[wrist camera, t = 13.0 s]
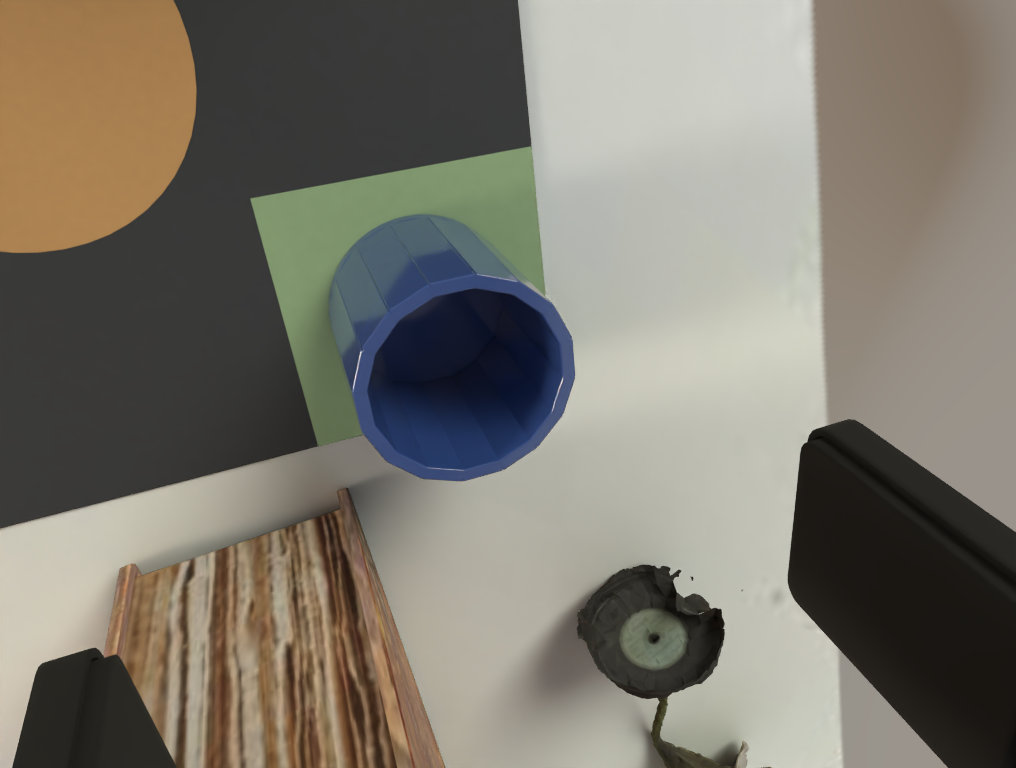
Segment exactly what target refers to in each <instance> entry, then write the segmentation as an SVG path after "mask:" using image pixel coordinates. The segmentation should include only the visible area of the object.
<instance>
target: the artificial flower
mask: <svg viewBox="0 0 1016 768" xmlns="http://www.w3.org/2000/svg"><path fill="white" fill-rule="evenodd" d="M669 571H670V568H669V567H666V566H661V568H658V569H657V568H656V567H655V566H651V565H640V566H637V567H633V569H630V570H629V569H626V570H625V569H623V570H621V571H619V572H618V573H617V574H616V575H613V577H612V578H611V580H610V582H609V583H608V584H607V585H606V586H604V587H602V588H600V590H598V591H597V592H596V593H595V594H594V595H593V596H592V598H591V600H589V601H588V603H587V606H586V607H585V608H584V609H581V610H580V612H578V615H577V617H578V624H579V625H578V627H577V631H578V636H579V637H578V638H580V639H583V640H585V641H586V642H587V646H588V649H589V652H590V654H591V655H592V657H593V659H594V662H595V664H596V665H597V666H598V669H599V670H600V671H601V672H602V673H604V674H605V675H606V677H607V678H609V679H610V680H611V681H612V682H614V683H615V684H616V685H617V686H618V687H619V688H621V689H623V690H624V691H626V692H627V693H629V694H632V695H634V696H637V697H640V698H645V699H651V698H658V700H659V704H658V707H657V713H656V715H655V720H654V721H653V729H652V732H651V736H652V738H653V739H652V740H653V742H654V746H655V747H656V749H657V750H658V752H659V754H660V756H661V757H662V759H663V761H664V764H665V766H666V767H667V768H731V767H728V766H724V765H720V764H719V763H717V762H715V761H713V760H711V759H708V758H706V757H703V756H702V755H701V754H699V753H698V754H696V753H694V752H692V751H689V750H687V749H686V748H682V747H675V746H674V745H673V744H671V743H668V742H665V741H662V739H661V738H660V731H661V726H662V721H663V719H664V716H665V713H666V709H667V706H668V704H667V697H668V696H669V695H670V694H671V693H673V692H678V691H680V690H684V689H685V688H687V687H690V686H693V685H695V684H701V683H702V682H703V681H705V680H706V679H707V678H708V677H709V676H710V675H711V674H712V673H713V670H714V668H715V667H716V666H717V663H718V658H719V655H720V652H721V648H722V646H723V640H724V634H725V633H724V629H723V627H724V624H725V623H724V621H723V618H722V609H717V608H713V609H711V608H710V607H709V603H708V602H707V601H706V600H705V599H704V598H703V597H702V596H700V595H697V594H691V595H690V596H687V597H685V598H683V597H682V596H681V595H680V594H678V593H677V592H676V589H675V586H674V583H673V580H674V578H675V577H679V573H680V572H681V570H678V571H676V572H675V573H674V574H673V575H671V576H670V574H669ZM691 579H692V581H693V577H691ZM741 591H743V590H741ZM703 612H704V613H703ZM700 613H702V614H700ZM748 749H749V746H748V745H747V743H746V742H745V741H743V743H742V746H741V749H740V752H739V754H738V757H737V761H736V765H735V767H734V768H746V765H747V756H746V752H747V751H748ZM763 768H771V767H763Z"/></svg>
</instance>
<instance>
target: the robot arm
mask: <svg viewBox="0 0 1016 768" xmlns="http://www.w3.org/2000/svg"><path fill="white" fill-rule="evenodd" d="M788 585H789V589H790V591H791V594H792V596H793V598H794V599H795V601H796V602H797V603H798V605H799V606H800V607H801V608H802V609H803V610H804V611H805V612H806V613H807V614H808V616H809V617H810V618H811V619H812V620H813V621H814V622H815V623H816V624H817V625H818V626H819V628H820V629H821V630H822V631H823V632H824V633H825V634H826V635H827V636H828V637H829V638H830V639H831V641H832V642H833V643H834V644H835V645H836V646H837V647H838V648H839V649H840V650H841V651H842V653H843V654H844V655H845V656H846V657H847V658H848V659H849V660H850V661H851V662H852V663H853V665H854V666H856V668H857V669H858V670H859V671H860V672H861V673H862V674H863V675H864V677H865V678H866V679H867V680H868V681H869V682H870V683H871V684H872V685H873V686H874V687H875V688H876V690H877V691H878V692H879V693H880V694H881V695H882V696H883V697H884V698H885V699H886V700H887V701H888V703H889V704H890V705H891V706H892V707H893V708H894V709H895V710H896V711H897V712H898V714H899V715H901V716H902V718H903V719H904V720H905V721H906V722H907V723H908V724H909V725H910V726H911V728H912V729H913V730H914V731H915V732H916V733H917V734H918V735H919V736H920V737H921V739H922V740H923V741H924V742H925V743H926V744H927V745H928V746H929V747H930V748H931V749H932V751H933V752H934V753H935V754H936V755H937V756H938V757H939V758H940V759H941V760H942V761H943V763H944V764H945V765H946V766H947V767H948V768H1016V532H1014V531H1013V530H1012V529H1010V528H1009V527H1007V526H1006V525H1005V524H1003V523H1002V522H1000V521H999V520H997V519H996V518H995V517H993V516H992V515H990V514H989V513H988V512H986V511H985V510H983V509H982V508H980V507H979V506H978V505H976V504H975V503H973V502H972V501H971V500H969V499H968V498H966V497H965V496H963V495H962V494H961V493H959V492H958V491H956V490H955V489H953V488H952V487H951V486H949V485H948V484H946V483H945V482H944V481H942V480H941V479H939V478H938V477H936V476H935V475H934V474H932V473H931V472H929V471H928V470H927V469H925V468H924V467H922V466H921V465H919V464H918V463H917V462H915V461H913V460H912V459H911V458H909V457H908V456H907V455H905V454H904V453H902V452H901V451H900V450H898V449H896V448H895V447H894V446H892V445H891V444H890V443H888V442H887V441H885V440H884V439H882V438H881V437H880V436H878V435H877V434H875V433H874V432H873V431H871V430H870V429H868V428H867V427H866V426H864V425H863V424H861V423H859V422H857V421H856V420H850V419H848V420H844V421H841V422H838V423H835V424H831V425H828V426H825V427H821V428H818V429H815V430H813V431H812V432H811V434H810V435H809V438H808V442H807V443H805V444H804V445H803V446H802V448H801V453H800V463H799V472H798V482H797V492H796V501H795V511H794V521H793V531H792V540H791V550H790V560H789V570H788ZM12 768H177V766H176V764H175V763H174V761H173V759H172V757H171V755H170V753H169V751H168V749H167V747H166V745H165V743H164V741H163V739H162V737H161V735H160V733H159V731H158V729H157V728H156V726H155V724H154V722H153V720H152V718H151V716H150V714H149V712H148V710H147V708H146V706H145V704H144V702H143V700H142V698H141V696H140V694H139V692H138V691H137V689H136V687H135V685H134V683H133V681H132V679H131V677H130V675H129V673H128V671H127V669H126V667H125V665H124V663H123V661H122V660H121V658H120V657H119V656H118V655H117V654H115V655H111V656H108V657H104V656H103V655H102V653H101V652H100V651H99V650H98V649H96V648H91V649H88V650H84V651H81V652H78V653H74V654H71V655H68V656H65V657H61V658H58V659H55V660H51V661H48V662H45V663H42V664H41V665H40V666H39V667H38V669H37V672H36V675H35V678H34V682H33V686H32V691H31V695H30V699H29V703H28V707H27V711H26V715H25V719H24V723H23V727H22V731H21V735H20V739H19V743H18V747H17V751H16V755H15V759H14V763H13V767H12Z"/></svg>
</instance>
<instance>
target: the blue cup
mask: <svg viewBox="0 0 1016 768" xmlns="http://www.w3.org/2000/svg"><path fill="white" fill-rule="evenodd" d="M328 311H329V312H328V313H329V315H328V316H329V320H330V325H331V328H332V332H333V336H334V340H335V344H336V348H337V351H338V355H339V358H340V362H341V365H342V368H343V372H344V375H345V378H346V382H347V385H348V389H349V392H350V395H351V399H352V402H353V405H354V409H355V412H356V415H357V419H358V422H359V426H360V429H361V431H362V433H363V434H364V436H365V437H366V438H367V439H368V440H369V442H370V443H371V444H372V445H373V446H374V448H375V449H376V450H377V451H378V452H379V454H380V455H381V456H382V457H383V458H384V460H385V461H387V462H388V463H390V464H392V465H394V466H396V467H399V468H401V469H403V470H405V471H407V472H409V473H411V474H413V475H415V476H417V477H419V478H423V479H431V480H447V481H467V480H470V479H474V478H477V477H481V476H484V475H488V474H492V473H495V472H499V471H502V469H503V470H504V469H506V468H507V467H509V466H510V465H512V464H513V463H515V462H516V461H518V460H519V459H521V458H522V457H524V456H525V455H527V454H528V453H530V452H531V451H533V450H534V449H536V448H537V446H539V445H540V444H541V442H542V441H543V440H544V438H545V437H546V436H547V435H548V433H549V432H550V431H551V429H552V428H553V427H554V426H555V424H556V423H557V422H558V420H559V419H560V418H561V417H562V414H563V413H564V410H565V407H566V404H567V401H568V398H569V395H570V392H571V389H572V386H573V382H574V379H575V366H574V353H573V340H572V336H571V335H570V333H569V331H568V329H567V328H566V326H565V324H564V322H563V320H562V319H561V317H560V315H559V313H558V312H557V310H556V308H555V306H554V305H553V304H552V303H551V302H550V301H549V300H548V299H547V298H546V297H545V296H544V295H543V294H542V293H541V292H540V291H539V290H538V289H537V288H536V287H535V286H534V285H533V284H532V283H531V282H530V281H529V280H528V279H527V278H526V277H525V276H524V275H523V274H522V273H521V272H520V271H519V270H518V269H517V268H516V267H515V266H514V265H513V264H512V263H511V262H510V261H509V260H508V259H507V258H506V257H505V256H504V255H503V254H502V253H501V252H500V251H499V250H498V249H497V248H496V247H495V246H494V245H493V244H492V243H490V242H489V241H488V240H486V239H485V238H484V237H482V236H481V235H480V234H479V233H478V232H476V231H475V230H474V229H472V228H470V227H469V226H467V225H465V224H464V223H461V222H459V221H456V220H454V219H451V218H447V217H444V216H438V215H430V214H423V215H410V216H404V217H400V218H397V219H393V220H390V221H388V222H386V223H383V224H381V225H379V226H377V227H376V228H374V229H372V230H370V231H369V232H368V233H366V234H365V235H364V236H363V237H361V238H360V239H359V240H358V241H357V242H356V243H355V244H354V245H353V246H352V247H351V248H350V249H349V251H348V252H347V253H346V255H345V256H344V257H343V259H342V261H341V262H340V264H339V266H338V267H337V270H336V272H335V275H334V277H333V280H332V283H331V287H330V292H329V300H328Z"/></svg>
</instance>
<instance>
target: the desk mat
mask: <svg viewBox="0 0 1016 768" xmlns="http://www.w3.org/2000/svg"><path fill="white" fill-rule="evenodd" d="M423 214H430V215H438V216H444V217H447V218H451V219H454V220H456V221H459V222H461V223H464V224H465V225H467V226H469V227H470V228H472V229H474V230H475V231H476V232H478V233H479V234H480V235H481V236H482V237H484V238H485V239H486V240H488V241H489V242H490V243H492V244H493V245H494V246H495V247H496V248H497V249H498V250H499V251H500V252H501V253H502V254H503V255H504V256H505V257H506V258H507V259H508V260H509V261H510V262H511V263H512V264H513V265H514V266H515V267H516V268H517V269H518V270H519V271H520V272H521V273H522V274H523V275H524V276H525V277H526V278H527V279H528V280H529V281H530V282H531V283H532V284H533V285H534V286H535V287H536V288H537V289H538V290H539V291H540V292H541V293H542V294H543V295H544V296H545V287H544V276H543V266H542V255H541V244H540V234H539V223H538V212H537V201H536V191H535V180H534V169H533V159H532V148H531V138H530V127H529V116H528V106H527V95H526V84H525V74H524V63H523V52H522V42H521V31H520V20H519V9H518V0H0V528H3V527H7V526H11V525H15V524H19V523H22V522H26V521H30V520H34V519H38V518H42V517H46V516H50V515H53V514H57V513H61V512H65V511H69V510H73V509H77V508H81V507H85V506H88V505H92V504H96V503H100V502H104V501H108V500H112V499H116V498H119V497H123V496H127V495H131V494H135V493H139V492H143V491H147V490H150V489H154V488H158V487H162V486H166V485H170V484H174V483H178V482H181V481H185V480H189V479H193V478H197V477H201V476H205V475H209V474H212V473H216V472H220V471H224V470H228V469H232V468H236V467H240V466H243V465H247V464H251V463H255V462H259V461H263V460H267V459H271V458H275V457H278V456H282V455H286V454H290V453H294V452H298V451H302V450H306V449H309V448H313V447H317V446H322V445H325V444H329V443H333V442H337V441H341V440H345V439H349V438H353V437H356V436H360V435H364V434H363V433H362V431H361V429H360V426H359V422H358V419H357V415H356V412H355V409H354V405H353V402H352V399H351V395H350V392H349V389H348V385H347V382H346V378H345V375H344V372H343V368H342V365H341V362H340V358H339V355H338V351H337V348H336V344H335V340H334V336H333V332H332V328H331V325H330V320H329V316H328V315H329V313H328V312H329V311H328V300H329V292H330V287H331V283H332V280H333V277H334V275H335V272H336V270H337V267H338V266H339V264H340V262H341V261H342V259H343V257H344V256H345V255H346V253H347V252H348V251H349V249H350V248H351V247H352V246H353V245H354V244H355V243H356V242H357V241H358V240H359V239H360V238H361V237H363V236H364V235H365V234H366V233H368V232H369V231H370V230H372V229H374V228H376V227H377V226H379V225H381V224H383V223H386V222H388V221H390V220H393V219H397V218H400V217H404V216H410V215H423Z"/></svg>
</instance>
